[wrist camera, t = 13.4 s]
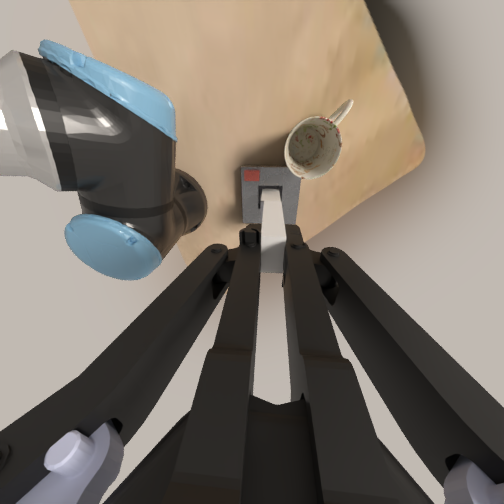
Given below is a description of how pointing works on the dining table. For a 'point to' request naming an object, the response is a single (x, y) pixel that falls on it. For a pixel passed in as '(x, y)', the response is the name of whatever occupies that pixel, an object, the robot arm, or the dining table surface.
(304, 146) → the mug
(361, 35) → the dining table surface
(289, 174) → the socket plate
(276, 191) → the plug
